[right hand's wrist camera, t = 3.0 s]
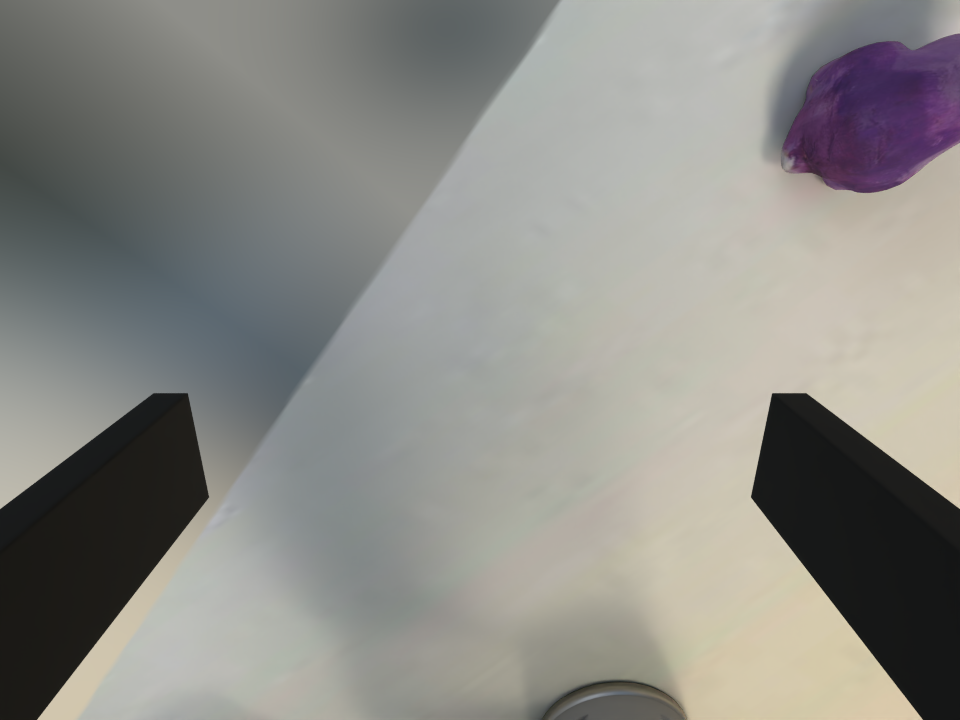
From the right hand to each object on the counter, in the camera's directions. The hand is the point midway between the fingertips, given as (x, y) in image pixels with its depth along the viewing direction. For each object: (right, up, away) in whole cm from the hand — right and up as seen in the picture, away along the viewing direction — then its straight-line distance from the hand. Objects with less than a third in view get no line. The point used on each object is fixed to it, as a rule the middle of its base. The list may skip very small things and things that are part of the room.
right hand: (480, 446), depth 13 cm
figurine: (+24, +18, +23) cm, 38 cm away
